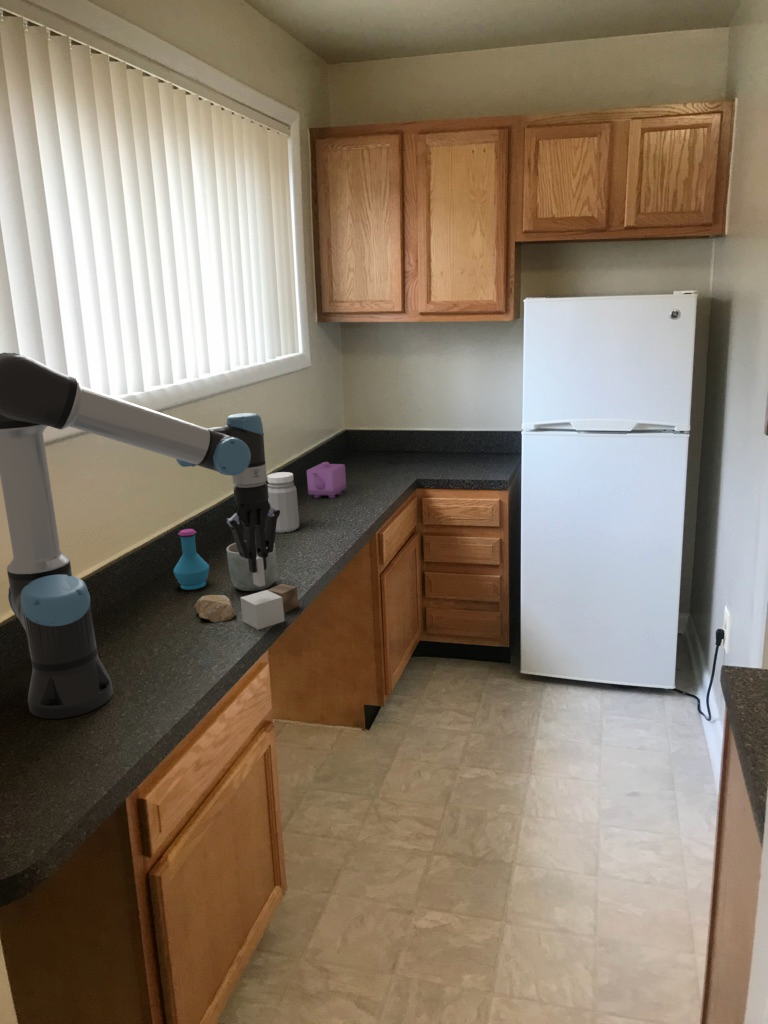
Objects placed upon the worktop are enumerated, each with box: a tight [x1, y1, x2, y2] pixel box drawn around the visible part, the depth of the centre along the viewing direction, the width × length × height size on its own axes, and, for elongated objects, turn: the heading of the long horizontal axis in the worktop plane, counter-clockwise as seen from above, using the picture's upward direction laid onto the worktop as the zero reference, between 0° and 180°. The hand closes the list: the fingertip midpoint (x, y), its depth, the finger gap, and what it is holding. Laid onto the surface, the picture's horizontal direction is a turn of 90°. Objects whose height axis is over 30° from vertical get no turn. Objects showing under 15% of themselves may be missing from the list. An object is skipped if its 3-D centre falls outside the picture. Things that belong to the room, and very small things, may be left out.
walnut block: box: [267, 583, 299, 614], centre depth 201 cm, size 5×5×5 cm
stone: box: [194, 594, 237, 623], centre depth 199 cm, size 8×10×4 cm
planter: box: [226, 539, 277, 592], centre depth 217 cm, size 12×12×11 cm
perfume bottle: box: [173, 528, 210, 591], centre depth 220 cm, size 9×9×15 cm
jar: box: [267, 471, 300, 534], centre depth 268 cm, size 10×10×18 cm
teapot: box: [306, 461, 347, 499], centre depth 310 cm, size 20×10×12 cm, turn 159°
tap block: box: [239, 589, 285, 630], centre depth 194 cm, size 7×7×6 cm
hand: (259, 584), depth 192 cm, fingers closed
